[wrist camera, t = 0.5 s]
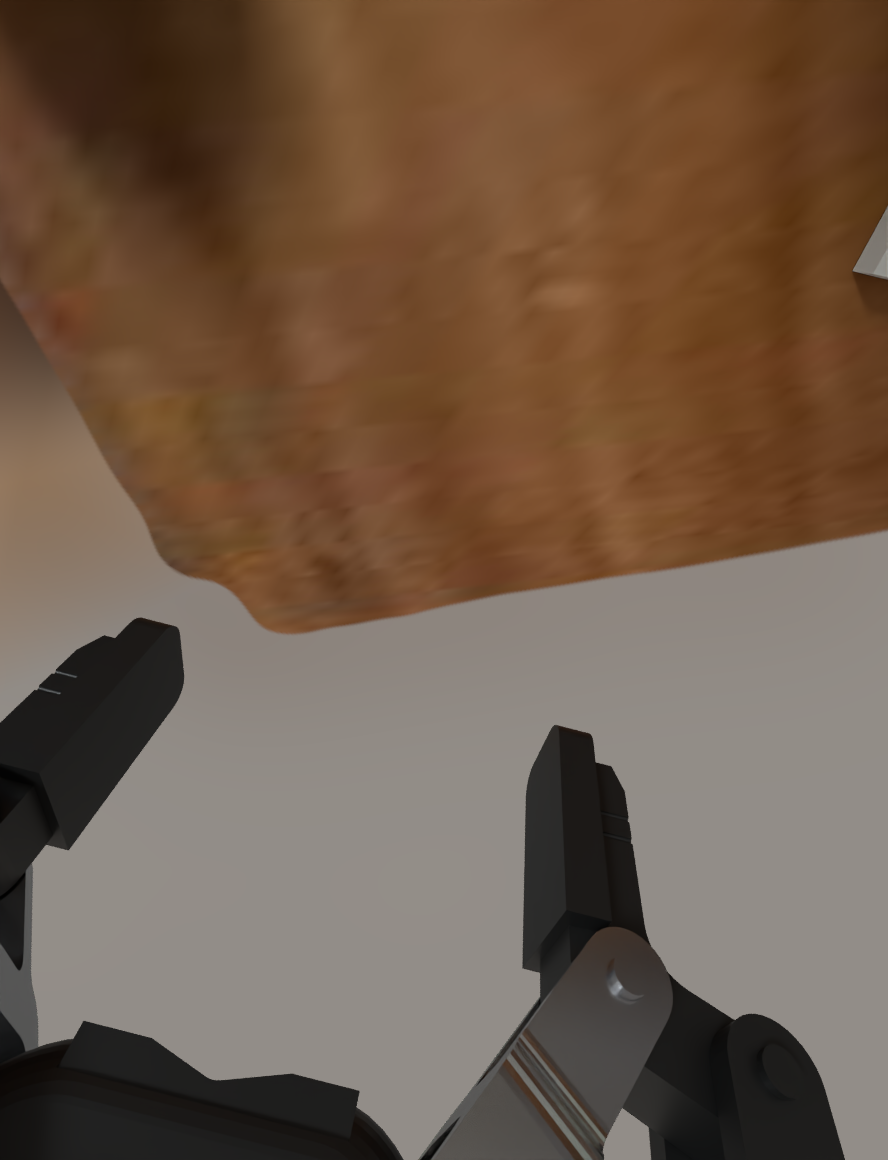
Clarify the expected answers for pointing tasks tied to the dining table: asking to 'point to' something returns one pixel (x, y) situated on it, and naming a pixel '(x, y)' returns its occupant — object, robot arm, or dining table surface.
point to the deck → (876, 252)
